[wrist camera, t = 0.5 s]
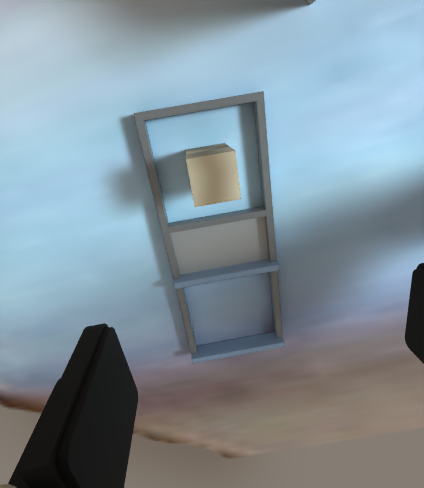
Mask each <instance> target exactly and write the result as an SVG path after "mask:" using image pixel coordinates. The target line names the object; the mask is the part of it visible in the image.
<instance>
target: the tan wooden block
mask: <svg viewBox="0 0 424 488" xmlns="http://www.w3.org/2000/svg"><path fill="white" fill-rule="evenodd" d="M186 162H187V168H188V173H189V178H190V184H191V189H192V195H193V200H194V205H195V207H198V206H204V205H210V204H215V203H221V202H227V201H232V200H238V199H241V193H240V185H239V177H238V168H237V160H236V152H235V150H234V149H232V148H231V147H229V146H228V145H226V144H225V143H222V144H217V145H211V146H205V147H199V148H193V149H188V150H186Z"/></svg>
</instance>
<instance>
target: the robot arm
mask: <svg viewBox="0 0 424 488" xmlns="http://www.w3.org/2000/svg"><path fill="white" fill-rule="evenodd" d="M405 341H406V344H407V346H408V347H409V349H410V350H411V351H412V352H413V353H414V354H415V355H416V356H417V357H418V358H419V359H420V360H421V361H422V362H423V363H424V263H421V264H419V265H418V266H417V269H416V270H414V271H413V274H412V282H411V290H410V298H409V307H408V315H407V323H406V331H405ZM137 403H138V392H137V388H136V385H135V382H134V380H133V377H132V374H131V372H130V369H129V366H128V364H127V361H126V358H125V356H124V353H123V350H122V348H121V345H120V342H119V340H118V337H117V334H116V332H115V329H114V328H113V327H108V326H107V324H99V325H94V326H88V327H86V328H85V329H84V330H83V333H82V335H81V337H80V339H79V341H78V343H77V345H76V348H75V350H74V352H73V354H72V356H71V358H70V360H69V362H68V365H67V367H66V369H65V371H64V373H63V375H62V377H61V379H59V380H58V382H57V383H56V385H55V387H54V389H53V391H52V393H51V395H50V397H49V399H48V401H47V404H46V406H45V408H44V410H43V412H42V414H41V416H40V418H39V420H38V423H37V424H36V426H35V429H34V431H33V433H32V435H31V437H30V439H29V441H28V443H27V445H26V447H25V449H24V452H23V454H22V456H21V458H20V460H19V462H18V464H17V466H16V468H15V471H14V472H13V475H12V477H11V479H10V481H9V483H8V484H3V485H0V488H124V483H125V477H126V471H127V465H128V458H129V453H130V446H131V440H132V434H133V428H134V422H135V416H136V410H137Z"/></svg>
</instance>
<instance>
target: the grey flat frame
mask: <svg viewBox="0 0 424 488" xmlns="http://www.w3.org/2000/svg"><path fill="white" fill-rule="evenodd" d="M249 102H254V111H255V122H256V133H257V145H258V156H259V167H260V178H261V189H262V200H263V207H257V208H251V209H246V210H240V211H234V212H229V213H223V214H217V215H212V216H206V217H200V218H195V219H189V220H183V221H178V222H172V223H168V219H167V214H166V210H165V206H164V201H163V197H162V192H161V188H160V184H159V179H158V175H157V171H156V166H155V162H154V157H153V153H152V149H151V144H150V140H149V135H148V131H147V127H146V122H145V120H149V119H155V118H161V117H167V116H173V115H179V114H184V113H190V112H196V111H202V110H208V109H214V108H219V107H225V106H231V105H237V104H243V103H249ZM134 117H135V121H136V125H137V129H138V134H139V138H140V142H141V146H142V150H143V154H144V158H145V163H146V167H147V171H148V175H149V179H150V183H151V188H152V192H153V196H154V200H155V204H156V208H157V212H158V217H159V221H160V225H161V229H162V233H163V237H164V242H165V246H166V250H167V254H168V258H169V262H170V266H171V271H172V275H173V279H174V283H173V284H174V288H175V289H176V291H177V296H178V300H179V304H180V308H181V312H182V316H183V320H184V325H185V329H186V333H187V337H188V341H189V345H190V350H191V354H192V362H193V363H198V362H203V361H209V360H214V359H220V358H225V357H230V356H236V355H241V354H247V353H252V352H258V351H263V350H268V349H274V348H279V347H285V342H284V340H283V338H282V325H281V312H280V299H279V286H278V273H277V270H279V264H278V263H277V260H276V247H275V234H274V221H273V208H272V195H271V182H270V169H269V156H268V143H267V130H266V117H265V104H264V91H262V92H257V93H251V94H245V95H239V96H233V97H227V98H221V99H216V100H210V101H204V102H198V103H192V104H186V105H180V106H174V107H169V108H163V109H157V110H151V111H145V112H139V113H134ZM266 272H269V278H270V289H271V300H272V311H273V322H274V332H270V333H265V334H260V335H254V336H249V337H243V338H238V339H232V340H227V341H221V342H216V343H210V344H205V345H200V346H196V341H195V337H194V332H193V328H192V324H191V319H190V315H189V311H188V306H187V302H186V297H185V293H184V289H183V287H189V286H194V285H200V284H205V283H211V282H216V281H222V280H227V279H233V278H239V277H244V276H250V275H255V274H261V273H266Z"/></svg>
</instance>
